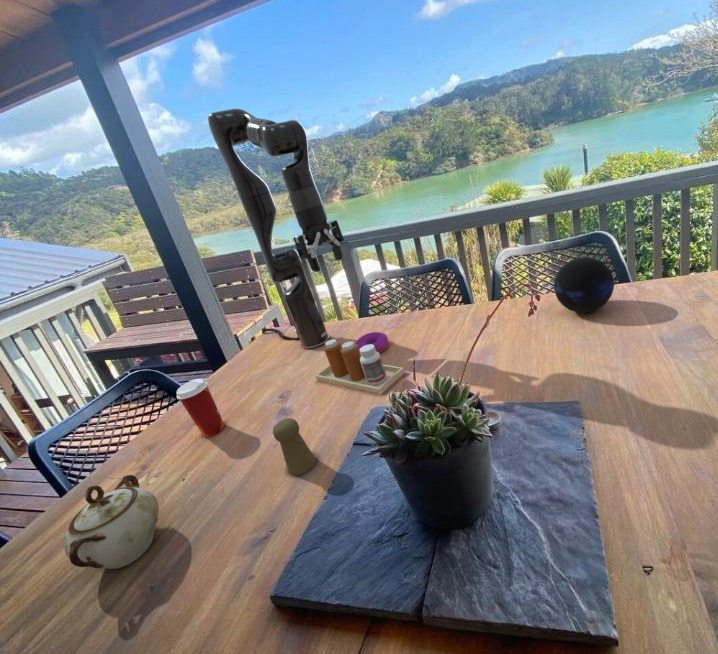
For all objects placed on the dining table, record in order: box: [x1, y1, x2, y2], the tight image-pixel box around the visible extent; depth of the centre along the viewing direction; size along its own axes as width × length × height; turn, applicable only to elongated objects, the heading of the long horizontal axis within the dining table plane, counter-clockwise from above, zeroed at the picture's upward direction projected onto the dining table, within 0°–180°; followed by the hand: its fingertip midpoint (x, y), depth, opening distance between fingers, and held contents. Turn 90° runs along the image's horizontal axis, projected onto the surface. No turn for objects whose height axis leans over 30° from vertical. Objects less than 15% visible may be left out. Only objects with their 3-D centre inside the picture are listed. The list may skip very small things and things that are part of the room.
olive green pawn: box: [272, 417, 317, 476], centre depth 89 cm, size 6×6×11 cm
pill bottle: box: [360, 344, 387, 385], centre depth 113 cm, size 5×5×10 cm
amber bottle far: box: [323, 338, 348, 378], centre depth 122 cm, size 5×5×10 cm
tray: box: [314, 364, 406, 395], centre depth 119 cm, size 25×10×2 cm, turn 52°
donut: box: [355, 331, 389, 354], centre depth 133 cm, size 10×10×5 cm
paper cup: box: [176, 378, 225, 438], centre depth 112 cm, size 8×8×14 cm
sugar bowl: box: [63, 474, 160, 570], centre depth 79 cm, size 20×15×15 cm
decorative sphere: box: [553, 256, 615, 314], centre depth 118 cm, size 15×15×15 cm
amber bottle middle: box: [341, 340, 365, 381], centre depth 117 cm, size 5×5×10 cm
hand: (328, 265), depth 118 cm, fingers open, 8 cm apart
